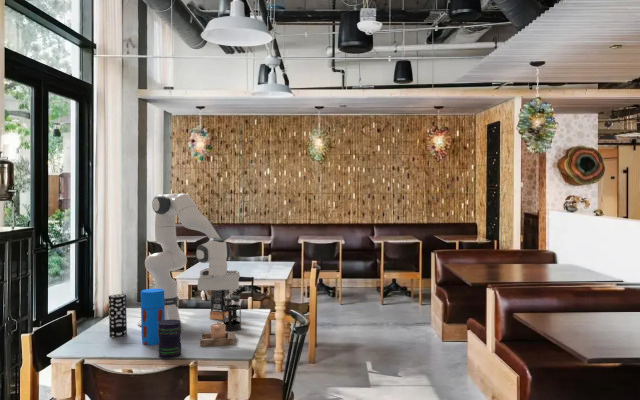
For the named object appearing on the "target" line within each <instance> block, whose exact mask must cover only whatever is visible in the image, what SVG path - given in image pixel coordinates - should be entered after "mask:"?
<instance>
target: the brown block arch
mask: <svg viewBox="0 0 640 400" xmlns="http://www.w3.org/2000/svg"><path fill="white" fill-rule="evenodd" d="M235 345H236V331H226V338H213V339H211V332H202V333H201V339H199V347H213V346H214V347H215V346H235Z"/></svg>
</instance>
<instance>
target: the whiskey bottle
mask: <svg viewBox="0 0 640 400" xmlns="http://www.w3.org/2000/svg"><path fill="white" fill-rule="evenodd" d="M229 293H230V292H229V290H210V295H211V297H210V298H211V299H210V311H209V319H212V320H220V321H223V306H226V305H233V300H227V301H226V302H224V298H223V297H225V296H227V295H229ZM230 296H231V294H230ZM228 308H232V307H228ZM225 316H228V311H227V310H225ZM225 321H226V319H225Z"/></svg>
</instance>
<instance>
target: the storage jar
mask: <svg viewBox="0 0 640 400" xmlns="http://www.w3.org/2000/svg"><path fill="white" fill-rule="evenodd" d="M180 320H181V319H180ZM180 320H163V321H160V322H158V325H159V326H158V335H159V344H158V348H157V349H158V358H159V359H165V360H167V359H168V360H170V359H176V358H179V357H181V356H182V342H181V334H182V323H181V322H182V321H180Z"/></svg>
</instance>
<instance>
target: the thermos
mask: <svg viewBox="0 0 640 400" xmlns="http://www.w3.org/2000/svg"><path fill="white" fill-rule="evenodd" d="M140 311H141V312H140V313H141V314H140V316H141V319H140V320H141V326H140V328H141V344H143V345H145V346H156V345H159V335H158V326H159V325H158V322H160V321H163V320H165V302H164V290H163V289H156V288H146V289H142V290H141V291H140Z"/></svg>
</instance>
